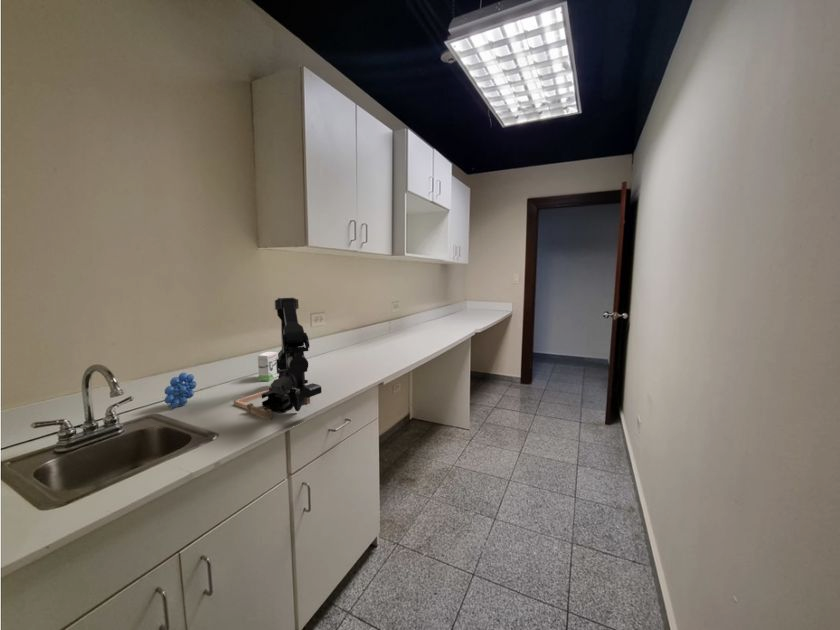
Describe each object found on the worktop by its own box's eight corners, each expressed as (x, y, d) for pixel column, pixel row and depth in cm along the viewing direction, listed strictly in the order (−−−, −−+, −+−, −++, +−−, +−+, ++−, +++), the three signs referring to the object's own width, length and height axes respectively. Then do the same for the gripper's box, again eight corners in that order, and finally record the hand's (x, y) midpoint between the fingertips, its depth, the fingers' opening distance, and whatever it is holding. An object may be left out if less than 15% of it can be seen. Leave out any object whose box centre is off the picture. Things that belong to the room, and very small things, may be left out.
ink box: (268, 381, 154) (267, 355, 153) (258, 381, 155) (257, 355, 154) (279, 375, 163) (277, 351, 161) (269, 375, 164) (268, 351, 162)
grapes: (189, 398, 133) (186, 368, 132) (201, 400, 131) (199, 370, 130) (157, 409, 122) (154, 377, 121) (171, 412, 120) (167, 378, 119)
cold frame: (290, 397, 134) (289, 390, 134) (310, 403, 128) (309, 395, 128) (247, 412, 119) (247, 404, 119) (268, 420, 114) (267, 411, 113)
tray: (268, 393, 139) (267, 389, 138) (287, 399, 132) (287, 395, 132) (233, 404, 127) (233, 400, 127) (253, 411, 121) (253, 407, 120)
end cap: (298, 406, 126) (297, 388, 125) (284, 413, 119) (283, 394, 118) (275, 403, 129) (274, 385, 128) (261, 410, 122) (260, 391, 121)
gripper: (256, 368, 115) (259, 413, 117) (293, 377, 105) (296, 425, 107) (285, 360, 124) (287, 402, 126) (321, 368, 115) (323, 413, 117)
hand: (297, 410), depth 119 cm, fingers closed
